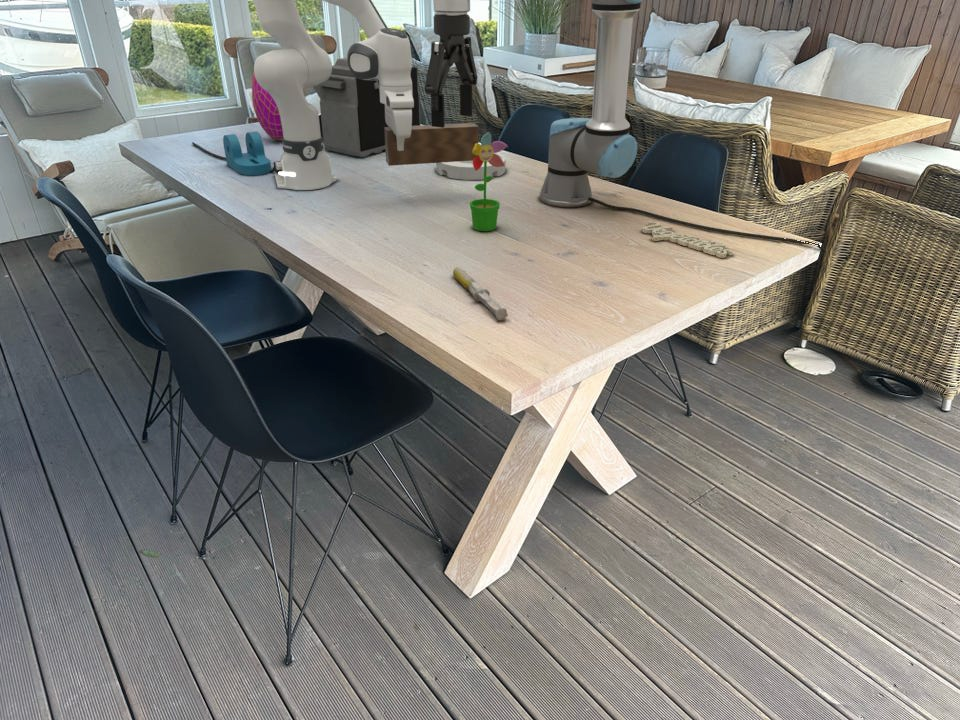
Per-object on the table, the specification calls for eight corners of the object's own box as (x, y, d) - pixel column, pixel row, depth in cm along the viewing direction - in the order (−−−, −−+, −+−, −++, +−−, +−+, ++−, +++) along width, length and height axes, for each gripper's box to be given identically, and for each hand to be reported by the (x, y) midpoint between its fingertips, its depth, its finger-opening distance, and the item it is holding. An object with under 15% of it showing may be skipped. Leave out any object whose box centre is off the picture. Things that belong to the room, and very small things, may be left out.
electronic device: (383, 133, 276) (378, 52, 261) (425, 141, 265) (422, 56, 250) (314, 150, 251) (304, 61, 235) (358, 160, 240) (350, 67, 224)
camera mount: (227, 164, 233) (221, 132, 227) (257, 160, 238) (252, 129, 233) (244, 176, 220) (239, 143, 215) (276, 172, 225) (271, 139, 220)
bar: (473, 156, 202) (474, 122, 197) (478, 160, 198) (478, 126, 193) (386, 161, 196) (384, 127, 191) (388, 165, 192) (387, 130, 187)
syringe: (449, 274, 155) (449, 263, 153) (465, 272, 156) (464, 260, 154) (490, 323, 135) (491, 310, 133) (508, 319, 136) (508, 307, 134)
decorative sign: (628, 228, 179) (651, 220, 185) (628, 232, 180) (651, 224, 186) (717, 257, 162) (740, 248, 168) (716, 261, 163) (739, 251, 169)
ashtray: (439, 160, 240) (438, 148, 238) (505, 161, 240) (505, 150, 238) (433, 179, 220) (432, 166, 218) (505, 180, 220) (505, 168, 218)
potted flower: (476, 234, 177) (477, 135, 164) (462, 225, 183) (462, 128, 170) (508, 229, 181) (511, 131, 168) (493, 220, 187) (496, 125, 174)
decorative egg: (293, 132, 276) (283, 50, 261) (319, 140, 264) (310, 56, 249) (249, 139, 265) (236, 54, 250) (273, 148, 253) (261, 60, 238)
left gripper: (378, 89, 193) (380, 139, 200) (391, 102, 176) (393, 157, 183) (400, 88, 195) (402, 138, 202) (415, 102, 178) (416, 156, 185)
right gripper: (462, 9, 152) (462, 109, 163) (404, 16, 132) (409, 130, 143) (493, 10, 149) (491, 112, 160) (439, 18, 130) (441, 133, 140)
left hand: (398, 147), depth 192 cm, fingers closed on bar, 4 cm apart
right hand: (452, 121), depth 151 cm, fingers open, 13 cm apart
